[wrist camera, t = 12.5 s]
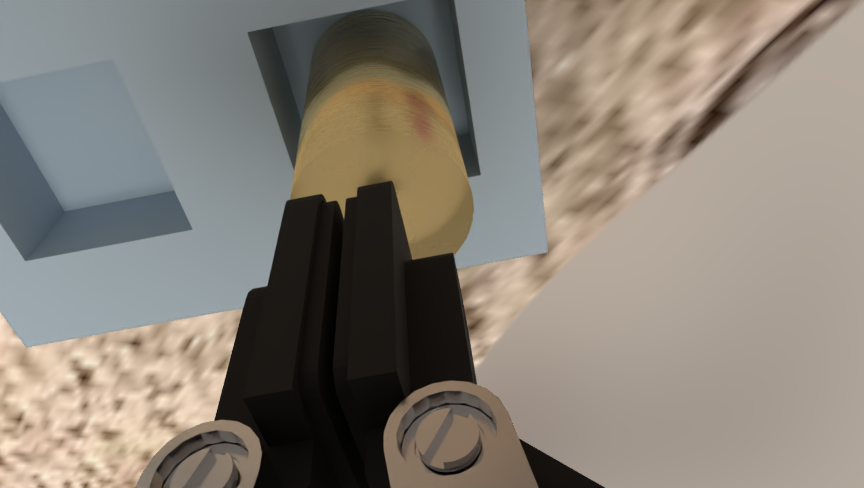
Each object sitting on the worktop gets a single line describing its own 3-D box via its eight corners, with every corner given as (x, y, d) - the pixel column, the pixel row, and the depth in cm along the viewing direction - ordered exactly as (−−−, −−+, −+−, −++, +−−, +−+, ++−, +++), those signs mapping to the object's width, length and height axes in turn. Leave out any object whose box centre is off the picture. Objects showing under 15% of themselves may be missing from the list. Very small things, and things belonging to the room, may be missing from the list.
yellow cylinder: (289, 35, 19) (256, 167, 13) (415, -8, 19) (445, 107, 13) (338, 146, 22) (330, 304, 15) (451, 111, 21) (492, 258, 15)
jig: (-131, -48, 18) (-243, -18, 15) (484, -180, 18) (509, -177, 14) (72, 277, 25) (26, 347, 22) (525, 192, 24) (547, 252, 21)
